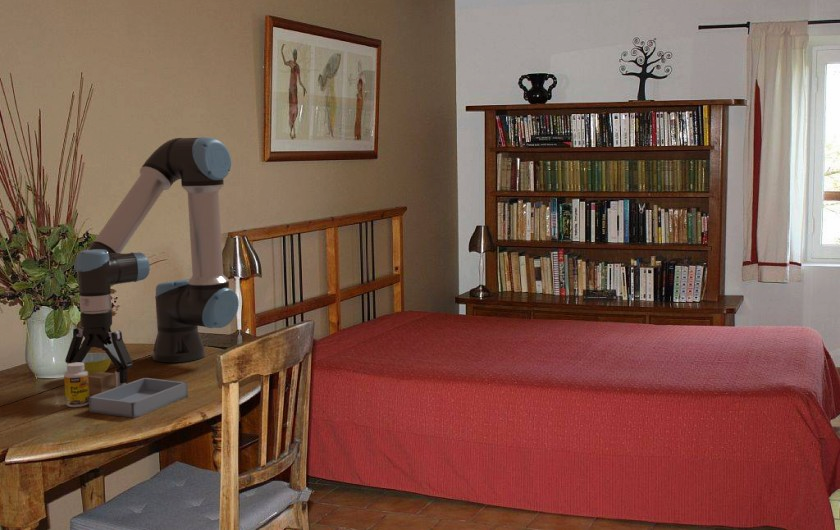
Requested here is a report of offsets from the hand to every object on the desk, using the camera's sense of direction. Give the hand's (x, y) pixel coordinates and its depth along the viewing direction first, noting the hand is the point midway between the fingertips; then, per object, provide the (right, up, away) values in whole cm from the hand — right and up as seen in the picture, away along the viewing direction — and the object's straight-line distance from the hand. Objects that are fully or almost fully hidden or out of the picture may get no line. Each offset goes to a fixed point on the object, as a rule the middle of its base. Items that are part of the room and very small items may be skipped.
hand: (100, 393), depth 234 cm
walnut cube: (0, 0, 0) cm, 0 cm away
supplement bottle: (-2, -2, -10) cm, 10 cm away
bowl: (-8, +1, +14) cm, 16 cm away
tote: (+13, -1, -10) cm, 16 cm away
